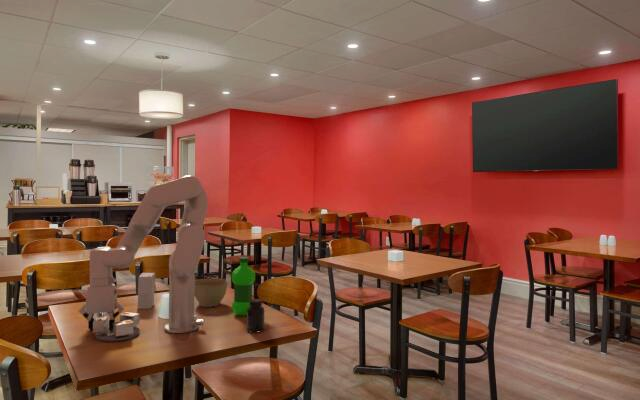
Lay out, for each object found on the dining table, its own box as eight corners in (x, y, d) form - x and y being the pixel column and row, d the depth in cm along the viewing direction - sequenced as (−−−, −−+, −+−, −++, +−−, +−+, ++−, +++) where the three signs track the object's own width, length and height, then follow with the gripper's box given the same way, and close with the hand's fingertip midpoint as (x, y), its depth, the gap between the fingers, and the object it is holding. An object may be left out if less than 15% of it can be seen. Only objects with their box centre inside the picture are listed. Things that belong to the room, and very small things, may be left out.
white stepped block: (132, 328, 173) (132, 315, 172) (119, 326, 175) (120, 313, 174) (139, 326, 176) (139, 313, 176) (126, 324, 178) (126, 311, 178)
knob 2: (112, 335, 165) (113, 321, 164) (130, 332, 168) (130, 318, 168) (116, 338, 162) (116, 324, 162) (133, 335, 166) (133, 321, 165)
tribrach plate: (146, 329, 177) (146, 324, 177) (127, 343, 162) (127, 337, 162) (109, 327, 178) (109, 322, 178) (86, 341, 163) (86, 335, 163)
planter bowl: (232, 301, 220) (233, 279, 220) (217, 310, 204) (218, 286, 204) (202, 299, 224) (202, 277, 223) (185, 307, 208) (185, 284, 208)
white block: (108, 328, 172) (108, 315, 172) (103, 334, 166) (103, 320, 166) (97, 329, 171) (97, 315, 171) (92, 334, 165) (93, 320, 165)
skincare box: (141, 304, 212) (141, 272, 211) (155, 304, 213) (155, 272, 212) (137, 309, 203) (137, 276, 203) (151, 309, 204) (151, 276, 204)
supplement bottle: (257, 326, 184) (257, 297, 183) (267, 330, 179) (268, 300, 178) (243, 330, 179) (243, 299, 178) (253, 334, 174) (254, 303, 174)
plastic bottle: (250, 318, 194) (251, 260, 193) (227, 316, 196) (228, 259, 195) (257, 312, 204) (259, 256, 203) (235, 310, 205) (236, 255, 204)
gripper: (128, 278, 173) (128, 325, 174) (79, 280, 170) (79, 327, 171) (123, 283, 166) (124, 332, 166) (72, 284, 162) (72, 334, 163)
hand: (101, 329), depth 169 cm, fingers open, 5 cm apart
